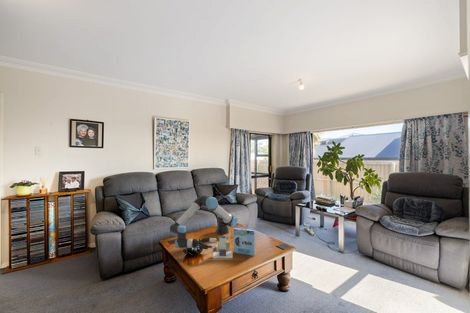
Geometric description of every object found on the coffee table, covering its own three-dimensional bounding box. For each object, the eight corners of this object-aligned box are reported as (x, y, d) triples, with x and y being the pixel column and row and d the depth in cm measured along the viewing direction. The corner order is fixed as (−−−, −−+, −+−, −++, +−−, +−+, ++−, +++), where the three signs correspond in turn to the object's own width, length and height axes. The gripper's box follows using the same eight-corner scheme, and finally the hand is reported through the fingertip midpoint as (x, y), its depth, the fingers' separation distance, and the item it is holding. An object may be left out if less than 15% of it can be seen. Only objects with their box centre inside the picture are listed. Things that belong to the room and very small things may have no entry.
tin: (219, 253, 191) (219, 236, 191) (226, 253, 191) (226, 236, 191) (219, 256, 186) (219, 238, 186) (226, 255, 186) (225, 238, 186)
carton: (217, 246, 207) (217, 232, 207) (230, 246, 207) (230, 231, 207) (216, 251, 195) (216, 236, 195) (230, 251, 195) (230, 236, 195)
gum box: (255, 253, 192) (255, 229, 191) (254, 256, 187) (254, 231, 187) (235, 250, 197) (235, 227, 197) (233, 253, 193) (233, 228, 192)
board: (213, 252, 194) (213, 251, 194) (232, 252, 194) (232, 251, 194) (212, 258, 182) (212, 258, 182) (232, 258, 182) (232, 257, 182)
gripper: (194, 241, 200) (216, 241, 200) (189, 253, 175) (214, 253, 175) (194, 233, 200) (216, 233, 200) (189, 245, 175) (214, 244, 175)
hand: (216, 243), depth 188 cm, fingers open, 13 cm apart
